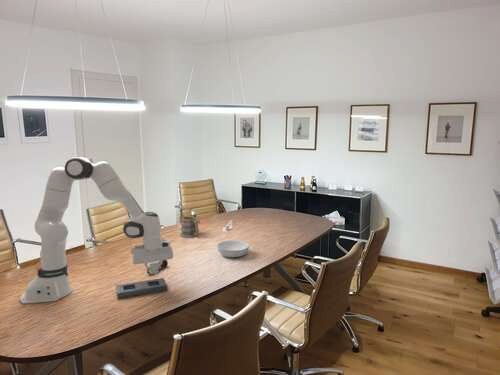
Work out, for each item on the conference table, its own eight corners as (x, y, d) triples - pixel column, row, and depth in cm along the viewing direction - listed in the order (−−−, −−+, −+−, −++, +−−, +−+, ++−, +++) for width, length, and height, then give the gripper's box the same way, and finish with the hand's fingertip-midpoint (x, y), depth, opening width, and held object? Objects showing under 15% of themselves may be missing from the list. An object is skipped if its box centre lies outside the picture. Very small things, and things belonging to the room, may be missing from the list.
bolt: (148, 278, 209) (163, 268, 223) (154, 275, 207) (169, 265, 221) (143, 269, 209) (159, 259, 223) (149, 266, 207) (164, 256, 221)
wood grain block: (150, 274, 188) (149, 265, 187) (149, 271, 191) (148, 262, 190) (158, 273, 189) (157, 263, 188) (157, 270, 193) (156, 261, 192)
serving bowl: (223, 262, 229) (223, 252, 227) (213, 252, 247) (212, 242, 246) (254, 257, 237) (254, 247, 236) (241, 248, 256) (241, 238, 255)
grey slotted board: (117, 299, 180) (117, 293, 179) (116, 290, 189) (116, 285, 188) (167, 290, 189) (167, 285, 188) (163, 283, 198) (163, 277, 197)
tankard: (177, 235, 286) (177, 216, 283) (191, 232, 294) (190, 214, 292) (192, 241, 271) (191, 221, 269) (206, 237, 280) (205, 218, 277)
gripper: (131, 248, 181) (133, 275, 183) (173, 242, 189) (174, 268, 191) (130, 244, 186) (132, 270, 189) (170, 239, 194) (171, 264, 197)
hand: (153, 269), depth 190 cm, fingers closed on wood grain block, 4 cm apart
